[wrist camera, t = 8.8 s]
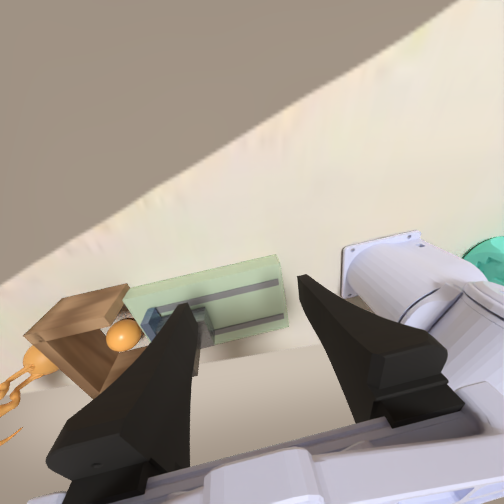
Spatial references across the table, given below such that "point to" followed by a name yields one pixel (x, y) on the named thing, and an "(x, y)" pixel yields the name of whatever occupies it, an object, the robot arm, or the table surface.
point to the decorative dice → (489, 259)
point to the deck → (221, 298)
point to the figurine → (37, 368)
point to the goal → (84, 338)
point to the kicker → (205, 329)
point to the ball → (123, 335)
